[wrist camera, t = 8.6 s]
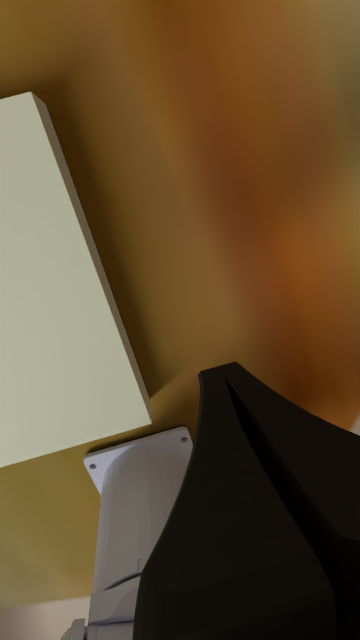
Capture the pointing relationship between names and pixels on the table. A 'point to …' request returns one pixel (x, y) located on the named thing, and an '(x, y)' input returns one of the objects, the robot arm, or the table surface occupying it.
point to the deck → (55, 304)
